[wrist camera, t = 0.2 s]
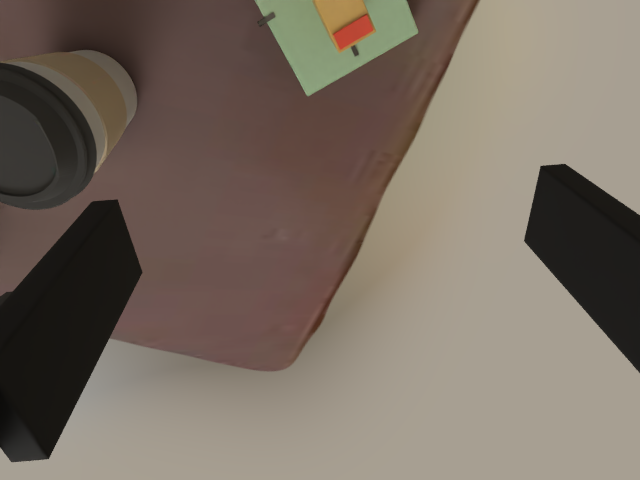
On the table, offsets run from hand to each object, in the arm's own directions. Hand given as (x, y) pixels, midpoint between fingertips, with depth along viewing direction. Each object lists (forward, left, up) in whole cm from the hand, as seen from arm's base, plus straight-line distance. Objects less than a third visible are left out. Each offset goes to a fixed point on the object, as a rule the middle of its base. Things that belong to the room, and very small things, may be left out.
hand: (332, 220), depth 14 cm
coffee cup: (+1, -18, -28) cm, 33 cm away
